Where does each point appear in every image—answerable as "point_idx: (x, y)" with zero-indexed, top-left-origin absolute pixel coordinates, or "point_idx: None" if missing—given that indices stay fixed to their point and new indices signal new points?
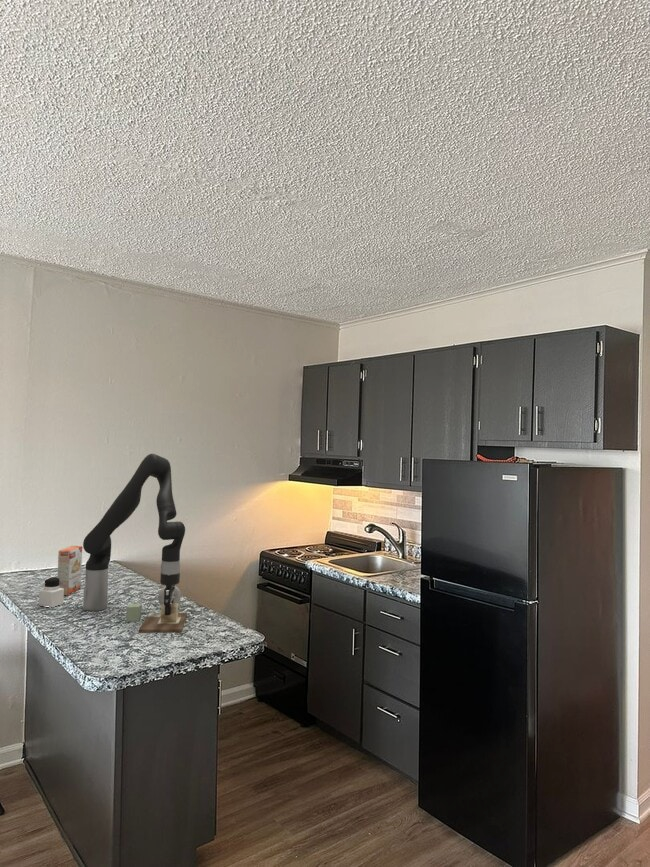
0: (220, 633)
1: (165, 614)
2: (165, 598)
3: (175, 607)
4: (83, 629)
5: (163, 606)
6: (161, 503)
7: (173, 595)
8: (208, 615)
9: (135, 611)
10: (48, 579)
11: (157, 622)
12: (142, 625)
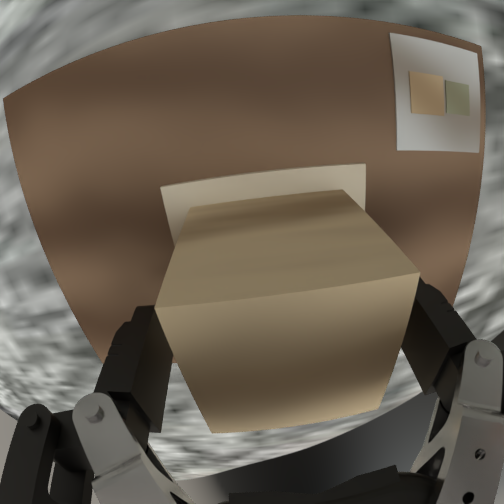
0: (158, 445)
1: (138, 314)
2: (14, 495)
3: (210, 427)
4: None
5: (220, 329)
6: None
7: (415, 467)
8: (410, 383)
9: None
10: None
11: (207, 169)
12: (94, 64)
